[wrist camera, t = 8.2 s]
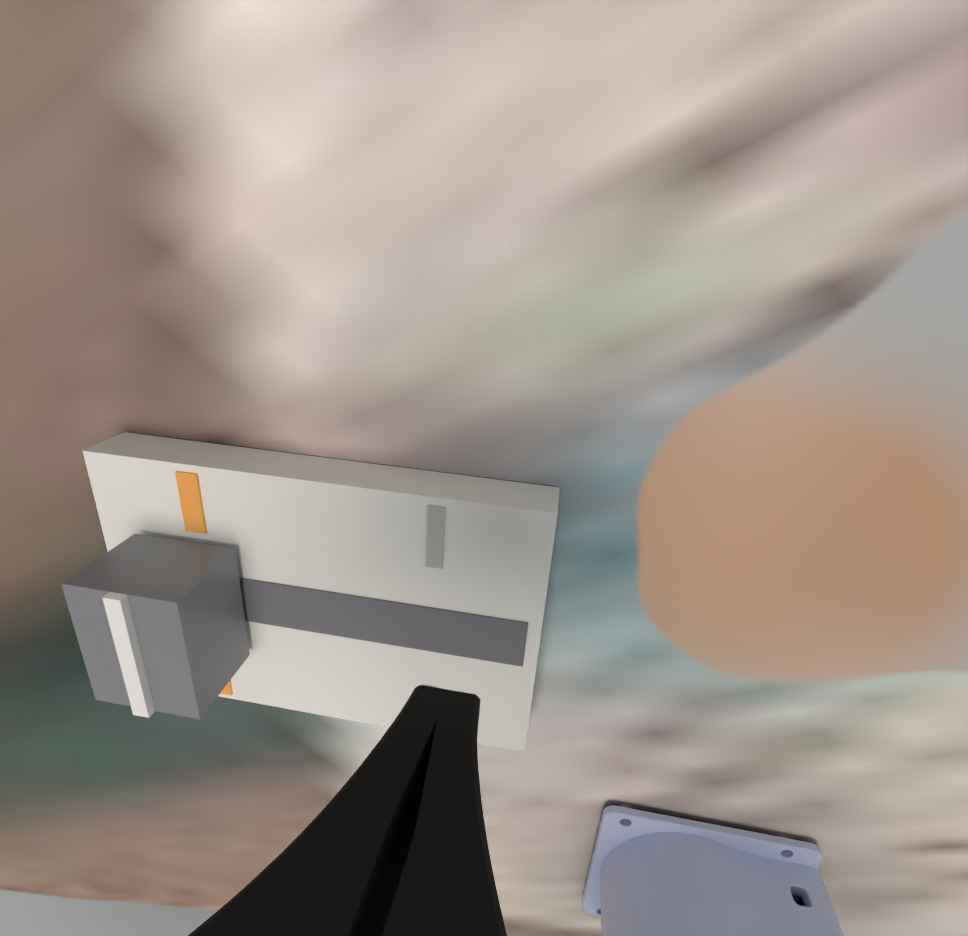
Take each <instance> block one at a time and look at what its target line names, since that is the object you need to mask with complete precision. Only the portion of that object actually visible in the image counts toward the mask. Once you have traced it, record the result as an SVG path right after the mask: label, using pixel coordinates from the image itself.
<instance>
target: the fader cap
mask: <svg viewBox="0 0 968 936" xmlns="http://www.w3.org/2000/svg"><path fill="white" fill-rule="evenodd" d="M61 585H62V588H63V592H64V595H65V598H66V602H67V605H68V608H69V612H70V615H71V618H72V622H73V625H74V628H75V632H76V635H77V639H78V642H79V645H80V649H81V652H82V655H83V659H84V662H85V665H86V669H87V672H88V675H89V679H90V682H91V685H92V689H93V692H94V696H95V699H96V700H100V701H105V702H110V703H116V704H121V705H126V706H131V708H132V712H133V715H137V716H142V717H147V718H149V717H150V716H151V715H152V714H153V713H154V712H155V711H158V712H163V713H169V714H174V715H179V716H184V717H190V718H195V719H201V717H202V716H203V715H204V714H205V712H206V711H207V710H208V708H209V707H210V706H211V704H212V703H213V702H214V701H215V699H216V698H217V697H218V695H219V694H220V693H221V691H222V690H223V689H224V688H225V686H226V685H227V684H228V682H229V681H230V680H231V679H232V677H233V676H234V675H235V673H236V672H237V671H238V669H239V668H240V667H241V666H242V664H243V663H244V662H245V660H246V659H247V658H248V656H249V655H250V653H249V645H248V638H247V631H246V624H245V616H244V609H243V602H242V594H241V587H240V580H239V573H238V565H237V558H236V551H235V548H228V547H221V546H215V545H208V544H201V543H195V542H188V541H181V540H175V539H168V538H161V537H155V536H148V535H141V534H133V535H132V536H130V537H129V538H127V539H126V540H125V541H123V542H122V543H120V544H119V545H117V546H116V547H114V548H113V549H111V550H110V551H108V552H107V553H106V554H104V555H103V556H101V557H100V558H98V559H97V560H95V561H94V562H92V563H91V564H89V565H88V566H86V567H85V568H84V569H82V570H81V571H79V572H78V573H76V574H75V575H73V576H72V577H70V578H69V579H67V580H66V581H65V582H63V583H62V584H61Z"/></svg>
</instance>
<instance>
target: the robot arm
mask: <svg viewBox="0 0 968 936" xmlns="http://www.w3.org/2000/svg"><path fill="white" fill-rule="evenodd" d="M480 700H481V699H480V698H479V697H478V696H477V695H476V694H471V693H465V692H459V691H453V690H447V689H442V688H436V687H430V686H424V685H419V686H417V687H416V688H415V689H414V690H413V692H412V694H411V696H410V697H409V699H408V700H407V702H406V704H405V705H404V707H403V708H402V710H401V711H400V713H399V714H398V716H397V717H396V719H395V720H394V722H393V723H392V725H391V726H390V727H389V729H388V730H387V732H386V733H385V734H384V736H383V737H382V739H381V740H380V741H379V742H378V744H377V745H376V746H375V748H374V749H373V750H372V752H371V753H370V754H369V755H368V757H367V758H366V759H365V761H364V762H363V763H362V765H361V766H360V767H359V768H358V770H357V771H356V772H355V773H354V774H353V776H352V777H351V778H350V779H349V780H348V781H347V783H346V784H345V785H344V786H343V787H342V788H341V790H340V791H339V792H338V793H337V794H336V795H335V797H334V798H333V799H332V800H331V801H330V803H329V804H328V805H327V806H326V807H325V808H324V809H323V810H322V811H321V813H320V814H319V815H318V816H317V817H316V818H315V819H314V820H313V821H312V822H311V823H310V824H309V825H308V827H307V828H306V829H305V830H304V831H303V832H302V833H301V834H300V835H299V836H298V837H297V838H296V839H295V840H294V841H293V842H292V843H291V844H290V845H289V846H288V847H287V848H286V849H285V850H284V851H283V852H282V853H281V854H280V855H279V856H278V857H277V858H276V859H275V860H274V861H273V862H272V863H270V864H269V865H268V866H267V867H266V868H265V869H264V870H263V871H262V872H261V873H260V874H259V875H258V876H257V877H256V878H255V879H254V880H252V881H251V882H250V883H249V884H248V885H247V886H246V887H245V888H244V889H243V890H241V891H240V892H239V893H238V894H237V895H236V896H235V897H234V898H232V899H231V900H230V901H229V902H228V903H227V904H226V905H224V906H223V907H222V908H221V909H220V910H218V911H217V912H216V913H215V914H214V915H213V916H211V917H210V918H209V919H208V920H206V921H205V922H204V923H203V924H202V925H201V926H199V927H198V928H197V929H196V930H195V931H193V932H192V933H191V934H190V935H188V936H507V934H506V930H505V926H504V922H503V917H502V913H501V909H500V904H499V900H498V895H497V891H496V886H495V881H494V876H493V871H492V866H491V861H490V855H489V850H488V844H487V837H486V831H485V825H484V818H483V811H482V803H481V794H480V783H479V773H478V759H477V734H478V723H479V712H480ZM822 859H823V856H822V853H821V851H820V848H819V847H818V846H817V845H816V844H813V843H810V842H804V841H799V840H794V839H789V838H783V837H778V836H773V835H768V834H762V833H757V832H752V831H747V830H741V829H736V828H731V827H726V826H720V825H715V824H710V823H705V822H699V821H694V820H689V819H684V818H678V817H673V816H668V815H663V814H657V813H652V812H647V811H642V810H636V809H631V808H626V807H621V806H615V805H611V806H608V807H606V808H605V809H604V810H603V813H602V818H601V822H600V826H599V830H598V834H597V839H596V843H595V847H594V851H593V855H592V860H591V864H590V868H589V872H588V876H587V881H586V885H585V889H584V893H583V897H582V910H583V911H584V912H585V913H587V914H589V915H592V916H597V917H601V926H602V936H843V933H842V930H841V928H840V925H839V922H838V920H837V917H836V914H835V912H834V909H833V907H832V904H831V901H830V899H829V896H828V893H827V891H826V888H825V886H824V883H823V880H822V878H821V875H820V872H819V870H818V867H819V865H820V863H821V861H822Z"/></svg>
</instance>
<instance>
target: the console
mask: <svg viewBox="0 0 968 936" xmlns="http://www.w3.org/2000/svg"><path fill="white" fill-rule="evenodd" d="M83 454H84V458H85V462H86V466H87V470H88V474H89V478H90V482H91V486H92V490H93V494H94V498H95V502H96V506H97V510H98V514H99V518H100V522H101V526H102V530H103V534H104V538H105V542H106V546H107V550H108V551H110V550H111V549H113V548H114V547H116V546H117V545H119V544H120V543H122V542H123V541H125V540H126V539H127V538H129V537H130V536H132V535H133V534H141V535H148V536H155V537H161V538H168V539H175V540H181V541H188V542H195V543H201V544H208V545H215V546H221V547H228V548H235V551H236V558H237V565H238V573H239V580H240V587H241V594H242V602H243V609H244V616H245V624H246V631H247V638H248V645H249V653H250V655H249V656H248V658H247V659H246V660H245V662H244V663H243V664H242V666H241V667H240V668H239V669H238V671H237V672H236V673H235V675H234V676H233V677H232V679H231V680H230V681H229V682H228V684H227V685H226V686H225V688H224V689H223V690H222V691H221V693H220V694H219V695H218V696H220V697H226V698H231V699H236V700H242V701H247V702H253V703H258V704H264V705H269V706H275V707H280V708H286V709H291V710H297V711H302V712H308V713H313V714H318V715H324V716H329V717H335V718H340V719H346V720H351V721H357V722H362V723H368V724H373V725H379V726H384V727H390V726H391V725H392V723H393V722H394V720H395V719H396V717H397V716H398V714H399V713H400V711H401V710H402V708H403V707H404V705H405V704H406V702H407V700H408V699H409V697H410V696H411V694H412V692H413V690H414V689H415V688H416V687H417V686H419V685H424V686H430V687H436V688H442V689H447V690H453V691H459V692H465V693H471V694H476V695H477V696H478V697H479V698H480V699H481V700H480V712H479V723H478V734H477V744H482V745H488V746H493V747H499V748H504V749H510V750H515V751H521V752H525V745H526V738H527V731H528V724H529V717H530V710H531V703H532V695H533V688H534V681H535V674H536V667H537V660H538V652H539V645H540V638H541V631H542V624H543V617H544V610H545V602H546V595H547V588H548V581H549V574H550V567H551V560H552V552H553V545H554V538H555V531H556V524H557V517H558V504H559V489H560V488H559V487H551V486H544V485H536V484H528V483H520V482H512V481H504V480H496V479H489V478H481V477H473V476H465V475H457V474H449V473H442V472H434V471H426V470H418V469H410V468H402V467H394V466H387V465H379V464H371V463H363V462H355V461H347V460H339V459H332V458H324V457H316V456H308V455H300V454H292V453H284V452H277V451H269V450H261V449H253V448H245V447H237V446H229V445H222V444H214V443H206V442H198V441H190V440H182V439H174V438H167V437H159V436H151V435H143V434H135V433H127V432H124V433H121V434H119V435H117V436H115V437H112V438H110V439H108V440H106V441H103V442H101V443H99V444H97V445H94V446H92V447H90V448H88V449H85V450H83Z"/></svg>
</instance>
